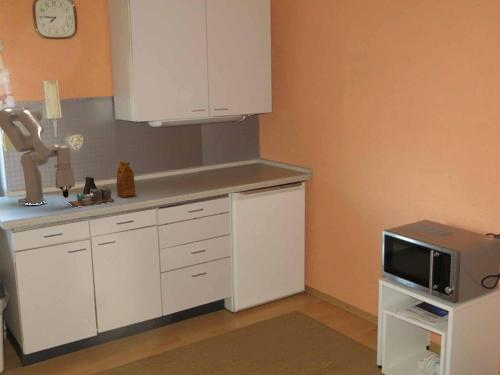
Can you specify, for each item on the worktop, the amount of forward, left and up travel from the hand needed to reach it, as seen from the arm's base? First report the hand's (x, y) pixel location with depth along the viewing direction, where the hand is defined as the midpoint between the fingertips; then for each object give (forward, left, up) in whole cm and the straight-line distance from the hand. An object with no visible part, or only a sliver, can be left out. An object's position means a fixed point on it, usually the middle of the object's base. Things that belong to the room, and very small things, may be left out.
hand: (65, 197), depth 349 cm
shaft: (+17, -1, -3) cm, 17 cm away
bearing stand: (+15, -1, -6) cm, 16 cm away
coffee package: (+39, +5, -6) cm, 39 cm away
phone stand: (+21, +19, -6) cm, 29 cm away
